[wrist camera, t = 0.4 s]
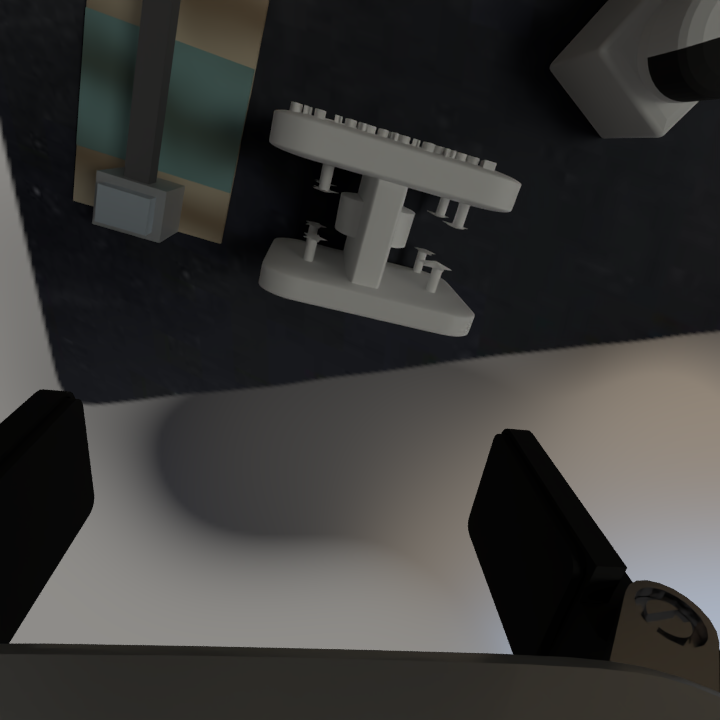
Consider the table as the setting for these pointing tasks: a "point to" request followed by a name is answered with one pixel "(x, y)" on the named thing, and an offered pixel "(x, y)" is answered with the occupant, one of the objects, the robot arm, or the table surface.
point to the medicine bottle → (642, 65)
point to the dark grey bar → (151, 88)
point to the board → (172, 100)
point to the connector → (137, 205)
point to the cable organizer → (378, 222)
